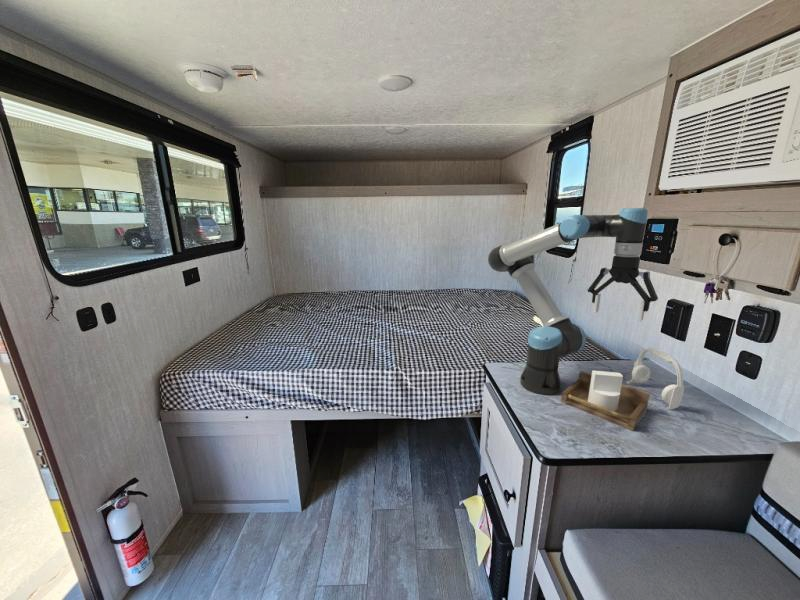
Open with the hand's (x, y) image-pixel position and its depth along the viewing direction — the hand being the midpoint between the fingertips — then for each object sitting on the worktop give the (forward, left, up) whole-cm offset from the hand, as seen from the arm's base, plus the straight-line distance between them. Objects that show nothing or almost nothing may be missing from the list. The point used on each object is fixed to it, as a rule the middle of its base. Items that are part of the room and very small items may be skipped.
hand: (617, 315), depth 111 cm
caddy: (+2, -8, -32) cm, 33 cm away
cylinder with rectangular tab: (+2, -9, -31) cm, 32 cm away
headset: (+12, +14, -32) cm, 37 cm away
